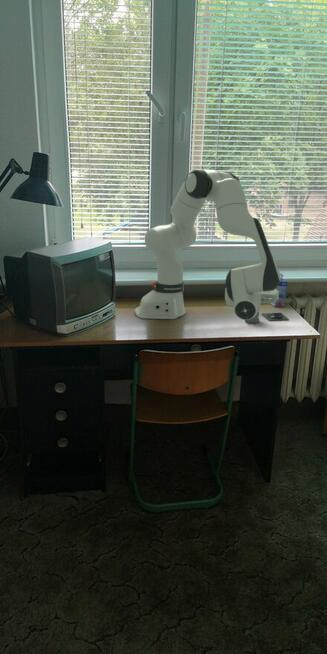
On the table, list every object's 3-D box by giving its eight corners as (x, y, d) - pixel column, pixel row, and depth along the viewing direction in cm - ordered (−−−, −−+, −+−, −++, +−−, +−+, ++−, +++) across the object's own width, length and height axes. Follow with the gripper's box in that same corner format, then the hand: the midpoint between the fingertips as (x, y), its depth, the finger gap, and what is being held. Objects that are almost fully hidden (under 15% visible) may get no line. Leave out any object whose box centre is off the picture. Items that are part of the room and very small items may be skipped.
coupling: (244, 322, 207) (245, 300, 203) (245, 318, 212) (247, 296, 209) (258, 324, 205) (260, 302, 202) (259, 320, 210) (261, 298, 207)
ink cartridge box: (285, 306, 229) (288, 276, 224) (274, 307, 228) (277, 277, 223) (277, 300, 238) (280, 271, 233) (266, 301, 237) (269, 272, 232)
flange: (269, 321, 209) (269, 319, 209) (261, 314, 218) (261, 312, 217) (288, 320, 211) (289, 318, 211) (280, 313, 219) (280, 312, 219)
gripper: (279, 292, 176) (280, 283, 189) (222, 288, 181) (227, 280, 194) (277, 308, 178) (279, 299, 191) (222, 305, 183) (227, 296, 196)
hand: (253, 289), depth 192 cm, fingers open, 8 cm apart
